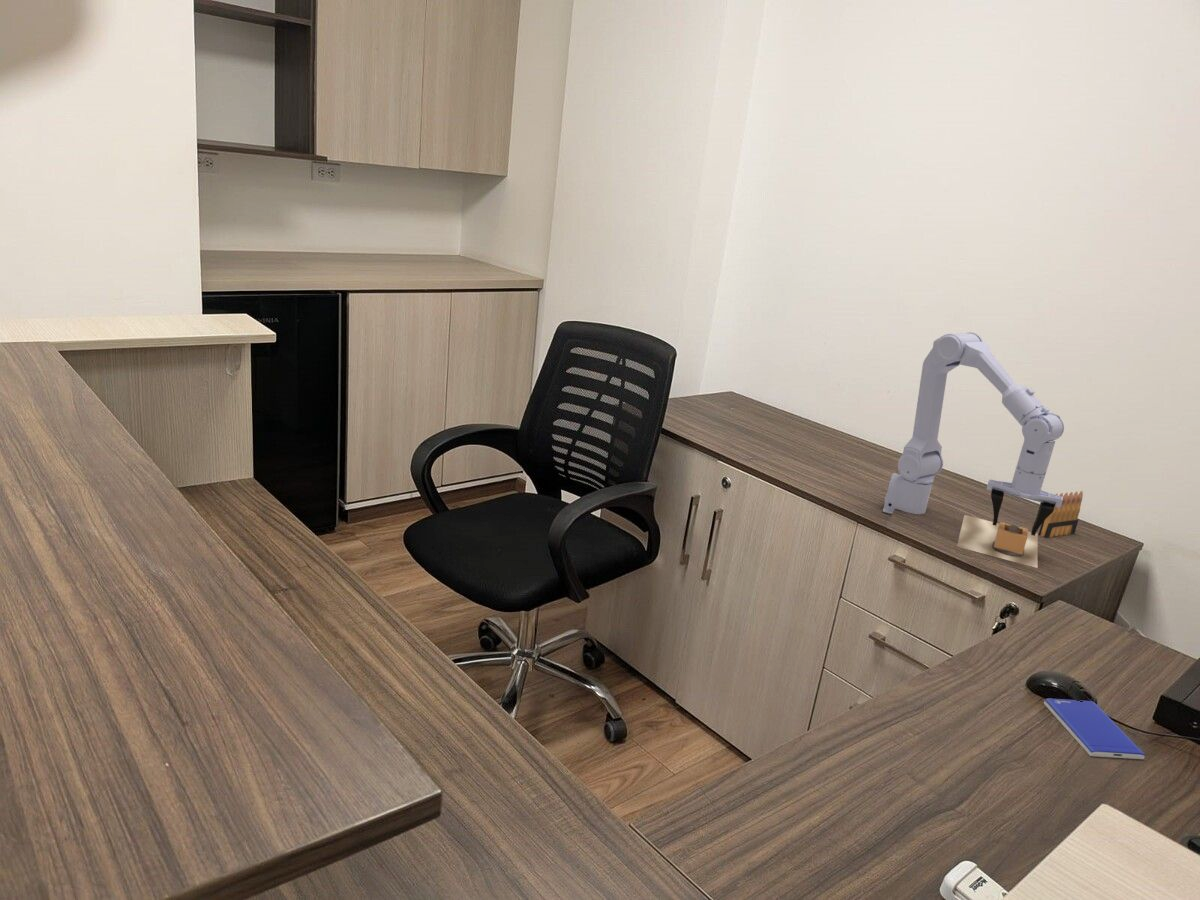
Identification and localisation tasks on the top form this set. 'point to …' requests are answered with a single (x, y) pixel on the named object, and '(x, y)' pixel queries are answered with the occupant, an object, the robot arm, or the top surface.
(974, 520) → the post board
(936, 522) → the top surface
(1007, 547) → the collar
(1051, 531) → the ammunition clip
